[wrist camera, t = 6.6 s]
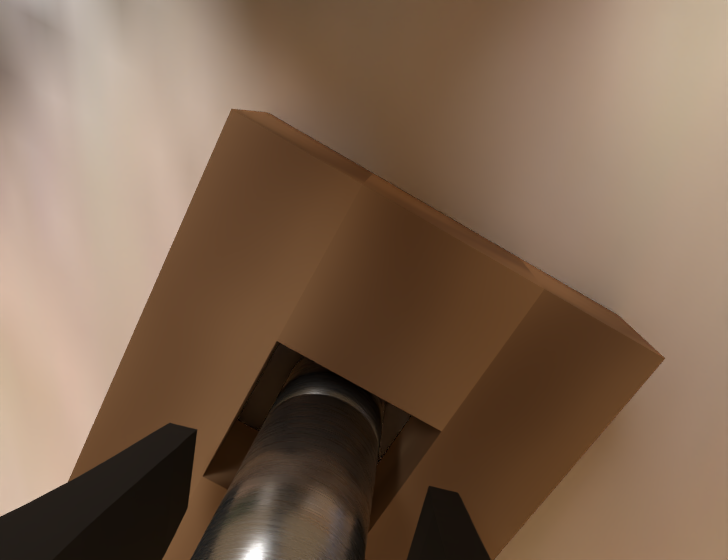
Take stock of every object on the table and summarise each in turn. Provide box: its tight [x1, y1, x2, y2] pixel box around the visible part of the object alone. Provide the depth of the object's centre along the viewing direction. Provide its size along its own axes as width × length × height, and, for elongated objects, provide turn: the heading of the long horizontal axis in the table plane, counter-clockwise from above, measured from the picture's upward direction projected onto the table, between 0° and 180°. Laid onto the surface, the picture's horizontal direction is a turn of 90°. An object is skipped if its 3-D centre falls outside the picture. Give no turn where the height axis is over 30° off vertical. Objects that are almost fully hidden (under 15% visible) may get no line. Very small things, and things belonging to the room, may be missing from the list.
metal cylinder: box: [190, 356, 385, 560], centre depth 11 cm, size 3×3×8 cm
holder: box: [68, 109, 665, 560], centre depth 13 cm, size 10×12×2 cm
